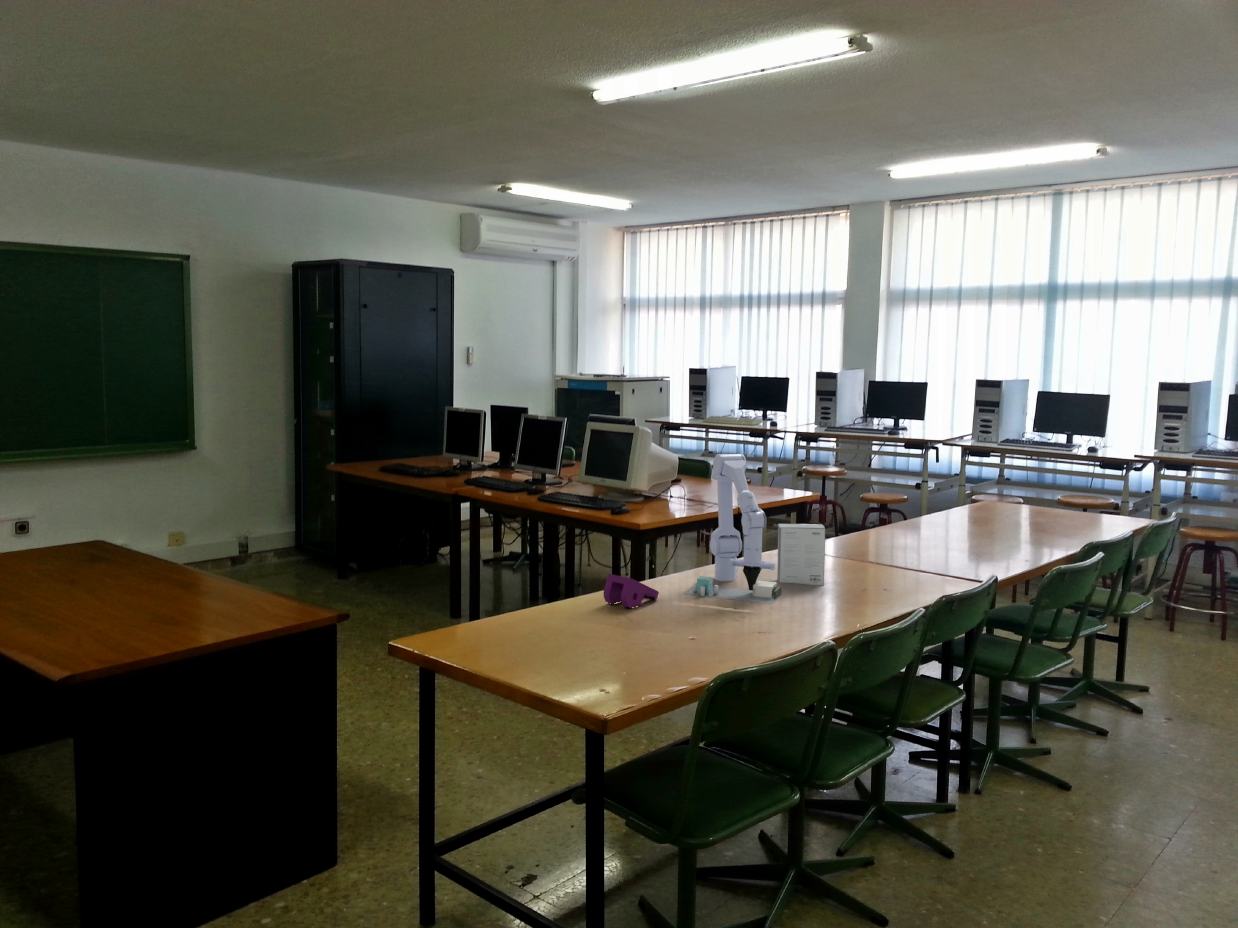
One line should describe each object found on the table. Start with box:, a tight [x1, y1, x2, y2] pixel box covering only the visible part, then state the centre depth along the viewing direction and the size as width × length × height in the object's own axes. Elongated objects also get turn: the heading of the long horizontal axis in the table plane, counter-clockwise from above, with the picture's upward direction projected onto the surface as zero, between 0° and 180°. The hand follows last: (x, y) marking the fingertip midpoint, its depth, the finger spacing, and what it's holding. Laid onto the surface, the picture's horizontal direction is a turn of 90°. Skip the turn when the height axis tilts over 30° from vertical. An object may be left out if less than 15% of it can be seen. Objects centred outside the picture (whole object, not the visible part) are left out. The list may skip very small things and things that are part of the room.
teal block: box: [696, 575, 714, 595], centre depth 301 cm, size 4×4×5 cm
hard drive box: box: [776, 523, 826, 586], centre depth 320 cm, size 16×8×20 cm, turn 84°
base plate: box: [684, 582, 782, 605], centre depth 301 cm, size 15×28×4 cm, turn 68°
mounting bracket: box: [603, 573, 660, 609], centre depth 291 cm, size 9×8×18 cm
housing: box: [753, 580, 778, 598], centre depth 300 cm, size 7×6×4 cm
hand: (751, 589), depth 302 cm, fingers closed
